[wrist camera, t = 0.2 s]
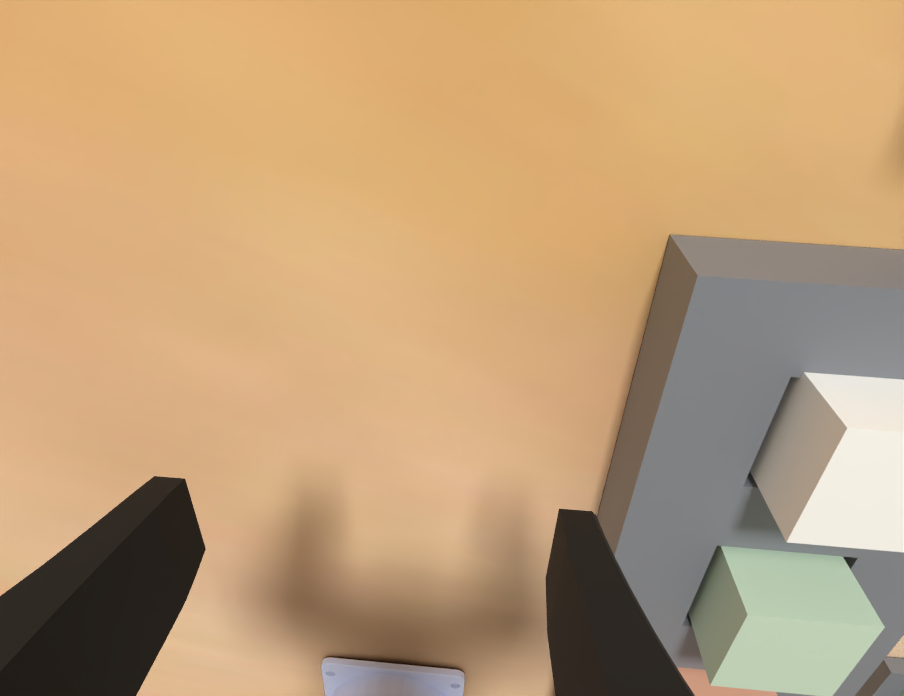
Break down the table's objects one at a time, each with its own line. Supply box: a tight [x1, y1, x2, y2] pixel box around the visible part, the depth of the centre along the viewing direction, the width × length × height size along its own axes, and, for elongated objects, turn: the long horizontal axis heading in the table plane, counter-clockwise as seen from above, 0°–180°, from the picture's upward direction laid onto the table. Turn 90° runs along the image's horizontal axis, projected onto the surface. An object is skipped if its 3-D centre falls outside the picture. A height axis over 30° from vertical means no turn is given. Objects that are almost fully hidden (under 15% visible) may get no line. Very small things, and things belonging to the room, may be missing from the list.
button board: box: [597, 235, 904, 696], centre depth 23 cm, size 26×12×3 cm, turn 178°
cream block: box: [750, 372, 904, 552], centre depth 17 cm, size 4×4×4 cm
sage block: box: [688, 546, 885, 696], centre depth 22 cm, size 4×4×4 cm
